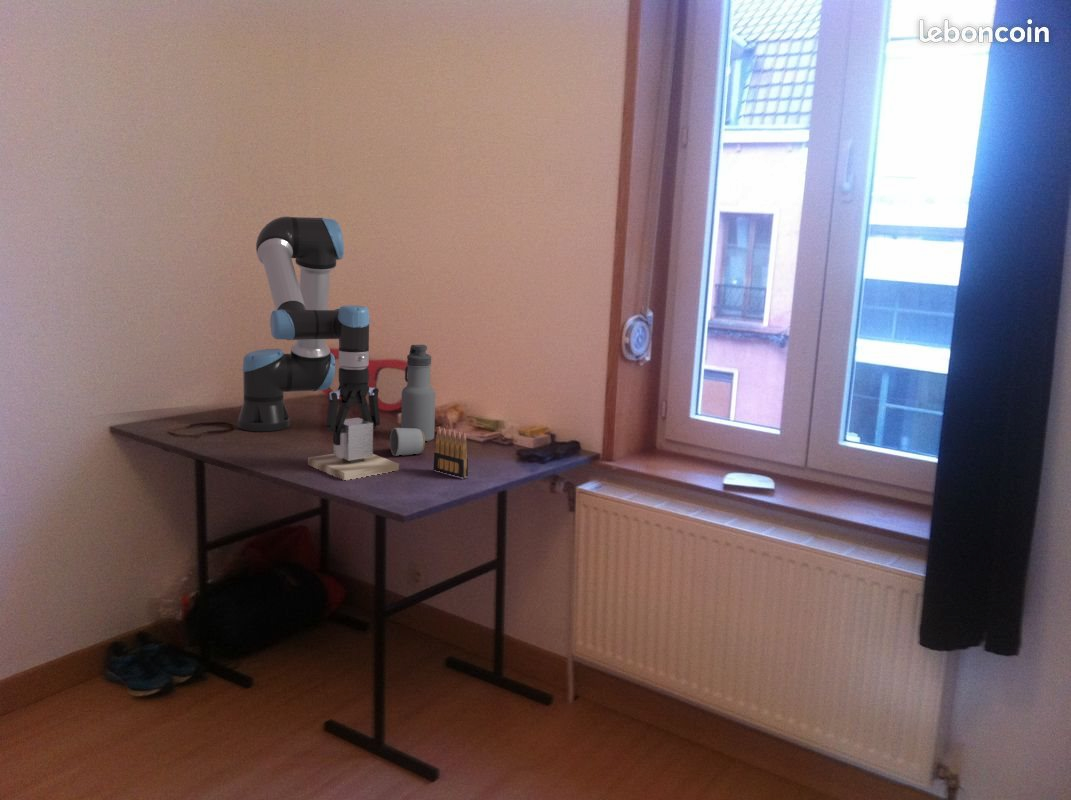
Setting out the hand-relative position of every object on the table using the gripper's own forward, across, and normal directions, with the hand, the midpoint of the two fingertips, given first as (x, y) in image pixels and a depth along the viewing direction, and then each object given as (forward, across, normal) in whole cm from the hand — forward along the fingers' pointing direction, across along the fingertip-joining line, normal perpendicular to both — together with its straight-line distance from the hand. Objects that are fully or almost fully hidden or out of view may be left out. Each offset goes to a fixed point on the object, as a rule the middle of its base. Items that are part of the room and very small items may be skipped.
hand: (353, 454), depth 236 cm
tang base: (+4, 0, 0) cm, 4 cm away
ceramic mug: (+4, +20, +6) cm, 21 cm away
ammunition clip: (+4, +17, -19) cm, 26 cm away
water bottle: (+4, +33, +18) cm, 38 cm away
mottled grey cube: (0, 0, 0) cm, 0 cm away
